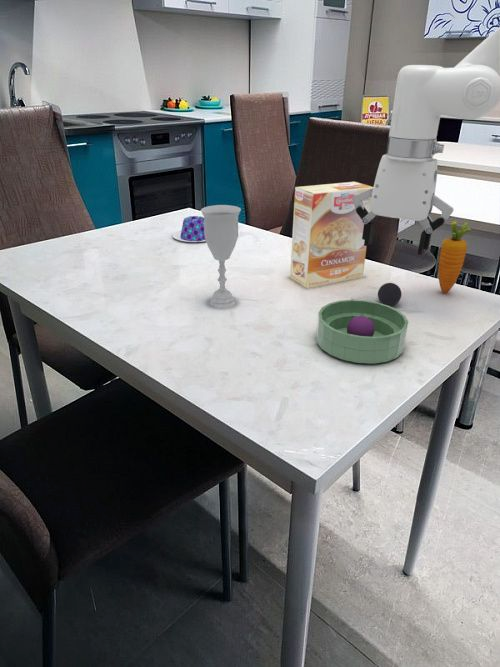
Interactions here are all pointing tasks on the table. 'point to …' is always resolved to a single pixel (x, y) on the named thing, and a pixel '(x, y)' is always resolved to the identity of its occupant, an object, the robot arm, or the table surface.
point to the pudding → (191, 230)
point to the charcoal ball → (389, 294)
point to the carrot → (452, 257)
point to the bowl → (361, 348)
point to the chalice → (221, 244)
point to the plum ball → (361, 326)
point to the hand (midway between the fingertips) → (393, 248)
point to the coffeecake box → (327, 234)
